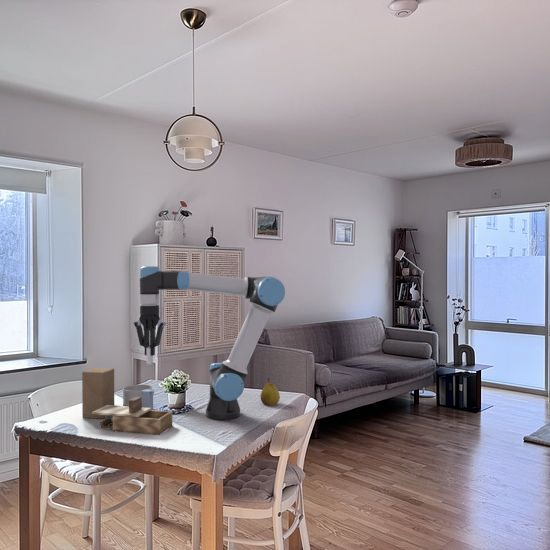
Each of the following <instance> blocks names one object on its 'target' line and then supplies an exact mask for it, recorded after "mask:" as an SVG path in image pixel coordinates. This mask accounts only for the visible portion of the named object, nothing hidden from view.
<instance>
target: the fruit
mask: <svg viewBox="0 0 550 550" xmlns="http://www.w3.org/2000/svg"><path fill="white" fill-rule="evenodd" d="M267 380H268V382H266V383H265V384H264V386H263V388H262V391H261V392H260V402H261V403H262V404H263V405H265V406H270V407H272V406H276V405H277V404H278V403H279V401H280V398H281V395H280V392H279V390H278V388H277V387H276V386H275V384H274V383H273V382H270V378H267Z"/></svg>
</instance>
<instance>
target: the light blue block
mask: <svg viewBox="0 0 550 550" xmlns="http://www.w3.org/2000/svg"><path fill="white" fill-rule="evenodd" d="M154 394H155V390H154V389H152V390H149V389H146V390H142V407H146V408H151V410H154Z"/></svg>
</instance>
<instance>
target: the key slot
mask: <svg viewBox="0 0 550 550" xmlns="http://www.w3.org/2000/svg"><path fill="white" fill-rule="evenodd" d="M99 429H102V430H103V429H106V430H113V416H108V417H106V418H104V419H102V421H100V422H99Z"/></svg>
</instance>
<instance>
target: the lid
mask: <svg viewBox="0 0 550 550" xmlns="http://www.w3.org/2000/svg"><path fill="white" fill-rule="evenodd" d="M150 410H151V408H146V407H142V397H134V398H132V399H130V400H129V406H123V405H116V404H114V405H106V406H104V407H102V408H100V409H98V410H95V411H93V412H92V414H98V415H109V416H111V417H113V416H126V417H139V416H141V415H143V414H144V413H146V412H148V411H150Z"/></svg>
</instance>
